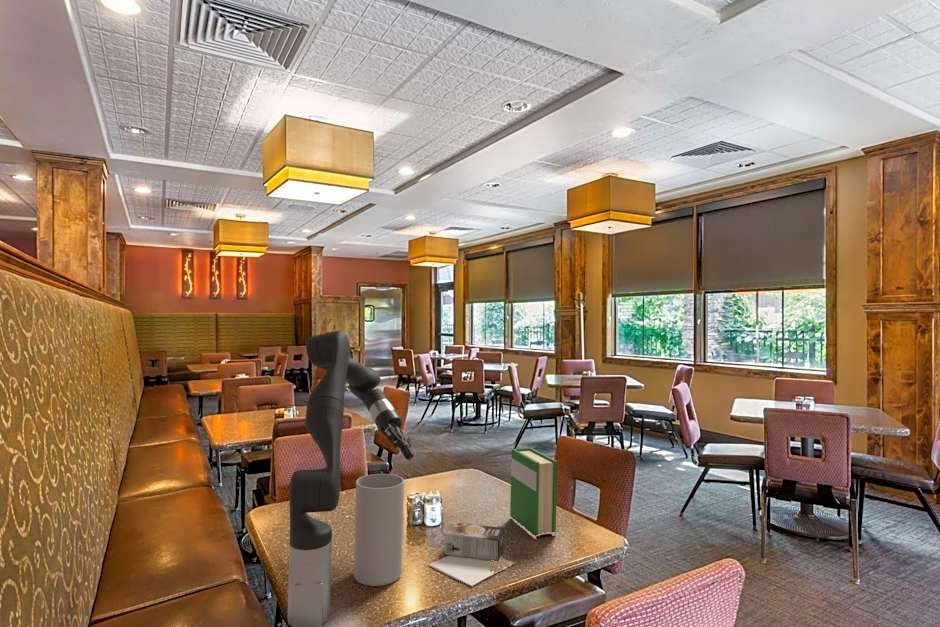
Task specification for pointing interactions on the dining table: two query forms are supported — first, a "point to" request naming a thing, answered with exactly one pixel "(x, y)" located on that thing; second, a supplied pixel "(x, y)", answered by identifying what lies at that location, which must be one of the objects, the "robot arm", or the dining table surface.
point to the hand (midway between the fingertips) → (410, 457)
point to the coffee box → (474, 541)
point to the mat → (464, 568)
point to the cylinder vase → (378, 529)
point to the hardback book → (533, 490)
